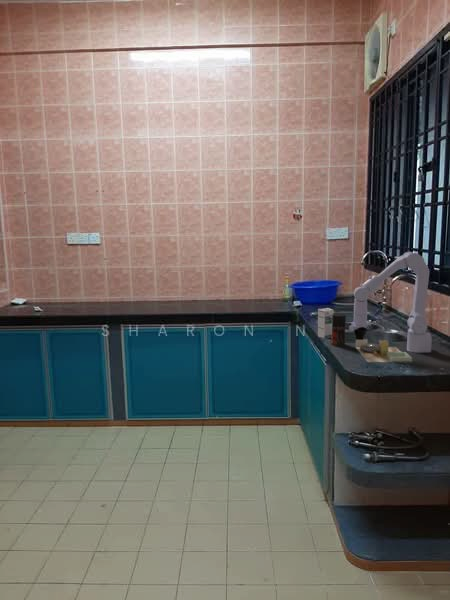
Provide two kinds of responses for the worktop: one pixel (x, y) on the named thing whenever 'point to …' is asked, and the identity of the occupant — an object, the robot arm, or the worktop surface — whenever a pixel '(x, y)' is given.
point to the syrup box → (325, 322)
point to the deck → (377, 358)
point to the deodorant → (338, 329)
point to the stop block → (383, 347)
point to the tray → (399, 356)
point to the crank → (367, 346)
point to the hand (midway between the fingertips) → (359, 343)
